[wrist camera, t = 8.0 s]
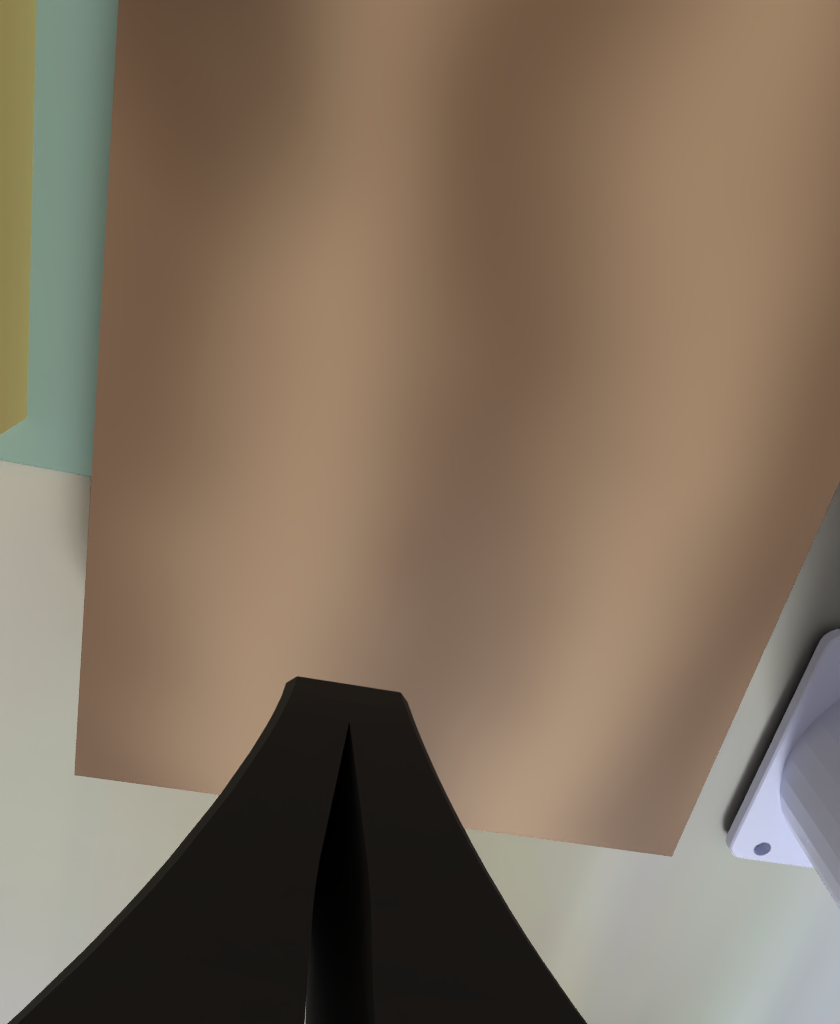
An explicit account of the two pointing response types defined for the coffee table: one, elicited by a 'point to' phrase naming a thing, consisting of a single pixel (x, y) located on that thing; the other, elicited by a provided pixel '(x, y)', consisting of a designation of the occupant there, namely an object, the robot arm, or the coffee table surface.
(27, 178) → the yellow rectangular block
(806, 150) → the deck
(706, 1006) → the coffee table surface
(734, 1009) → the coffee table surface
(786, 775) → the robot arm
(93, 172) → the mat
